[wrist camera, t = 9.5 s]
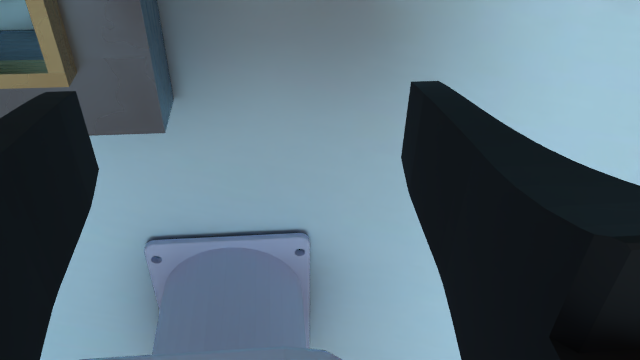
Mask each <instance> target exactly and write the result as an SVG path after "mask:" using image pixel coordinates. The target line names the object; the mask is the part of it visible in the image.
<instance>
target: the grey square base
mask: <svg viewBox="0 0 640 360" xmlns="http://www.w3.org/2000/svg"><path fill="white" fill-rule="evenodd" d="M25 1H26V5H27V8H28V11H29V14H30V17H31V20H32V23H33V26H34V30H15V31H0V118H1V117H3V116H4V115H6V114H8V113H9V112H11V111H12V110H14V109H16V108H17V107H19V106H20V105H22V104H24V103H26V102H27V101H29V100H31V99H32V98H34V97H36V96H38V95H40V94H42V93H45V92H58V91H76V93H77V96H78V100H79V103H80V107H81V110H82V114H83V117H84V120H85V124H86V127H87V131H88V134H89V136H90V135H119V134H149V133H165V131H166V128H167V124H168V120H169V116H170V112H171V108H172V104H173V100H174V98H173V93H172V87H171V81H170V75H169V69H168V63H167V57H166V51H165V46H164V40H163V34H162V28H161V22H160V16H159V10H158V5H157V0H25Z"/></svg>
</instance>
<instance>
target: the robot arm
mask: <svg viewBox="0 0 640 360" xmlns="http://www.w3.org/2000/svg"><path fill="white" fill-rule="evenodd" d="M401 159H402V164H403V169H404V173H405V178H406V182H407V187H408V191H409V194H410V197H411V200H412V203H413V205H414V208H415V211H416V213H417V216H418V219H419V221H420V224H421V226H422V229H423V232H424V234H425V237H426V239H427V242H428V244H429V247H430V250H431V252H432V255H433V257H434V260H435V263H436V265H437V268H438V271H439V274H440V277H441V280H442V283H443V286H444V290H445V294H446V298H447V302H448V305H449V309H450V313H451V317H452V321H453V325H454V330H455V334H456V338H457V342H458V347H459V351H460V355H461V360H640V186H639V185H636V184H633V183H630V182H627V181H624V180H621V179H618V178H615V177H613V176H610V175H607V174H605V173H602V172H599V171H597V170H594V169H591V168H589V167H587V166H584V165H582V164H579V163H577V162H575V161H573V160H571V159H568V158H566V157H564V156H562V155H560V154H558V153H556V152H554V151H551V150H549V149H547V148H545V147H543V146H542V145H540V144H538V143H536V142H534V141H532V140H531V139H529V138H527V137H525V136H524V135H522V134H520V133H518V132H517V131H515V130H513V129H512V128H510V127H508V126H507V125H505V124H504V123H502V122H500V121H499V120H497V119H496V118H494V117H493V116H491V115H490V114H488V113H487V112H485V111H484V110H482V109H481V108H479V107H478V106H476V105H475V104H473V103H472V102H470V101H469V100H467V99H466V98H465V97H463V96H462V95H460V94H459V93H457V92H456V91H454V90H453V89H451V88H450V87H448V86H446V85H445V84H443V83H441V82H439V81H421V82H411V87H410V94H409V102H408V110H407V117H406V125H405V132H404V140H403V148H402V155H401ZM98 170H99V168H98V165H97V161H96V158H95V155H94V151H93V148H92V144H91V141H90V137H89V134H88V131H87V127H86V124H85V120H84V117H83V114H82V110H81V107H80V103H79V100H78V96H77V93H76V91H58V92H45V93H42V94H40V95H38V96H36V97H34V98H32V99H31V100H29V101H27V102H26V103H24V104H22V105H20V106H19V107H17V108H16V109H14V110H12V111H11V112H9V113H8V114H6V115H4V116H3V117H1V118H0V360H40V357H41V352H42V348H43V344H44V340H45V336H46V332H47V328H48V324H49V321H50V317H51V313H52V309H53V306H54V303H55V300H56V297H57V294H58V291H59V288H60V285H61V283H62V280H63V278H64V275H65V273H66V270H67V268H68V265H69V263H70V260H71V257H72V255H73V252H74V250H75V247H76V245H77V242H78V240H79V237H80V235H81V232H82V229H83V227H84V224H85V221H86V219H87V216H88V213H89V211H90V208H91V204H92V200H93V195H94V191H95V186H96V181H97V176H98ZM297 249H303V250H300V251H299V250H297ZM144 253H145V257H146V261H147V264H148V268H149V272H150V276H151V280H152V284H153V288H154V292H155V295H156V299H157V303H158V307H159V311H160V313H159V318H158V324H157V329H156V335H155V340H154V346H153V352H152V355H143V356H127V357H112V358H96V359H81V360H342V359H340V358H338V357H337V356H335V355H333V354H331V353H329V352H327V351H325V350H317V349H309V310H310V241H309V237H308V236H307V235H306V234H304V233H289V234H268V235H248V236H227V237H207V238H186V239H166V240H152V241H149V242H147V244H146V245H145V249H144ZM154 256H159V257H160V258H156V257H154Z"/></svg>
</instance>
